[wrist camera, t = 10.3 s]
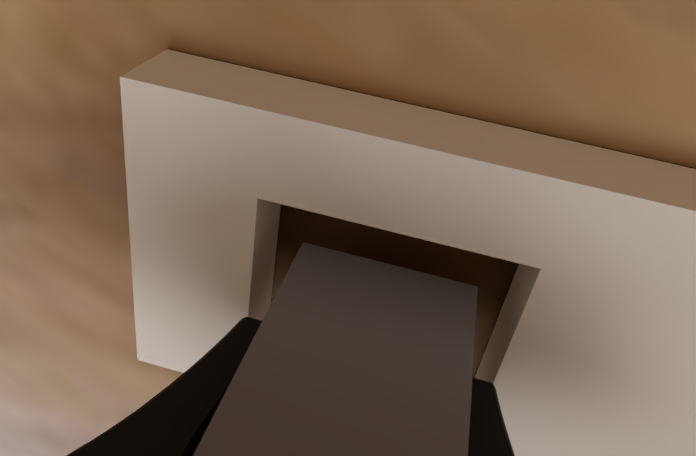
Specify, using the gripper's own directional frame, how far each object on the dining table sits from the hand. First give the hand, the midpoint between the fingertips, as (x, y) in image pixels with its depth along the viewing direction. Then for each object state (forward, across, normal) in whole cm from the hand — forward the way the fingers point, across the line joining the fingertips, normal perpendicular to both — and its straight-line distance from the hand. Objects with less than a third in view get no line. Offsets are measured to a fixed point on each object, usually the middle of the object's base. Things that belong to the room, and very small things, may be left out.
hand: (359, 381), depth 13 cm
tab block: (+2, 0, 0) cm, 2 cm away
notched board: (+3, -3, -1) cm, 5 cm away
